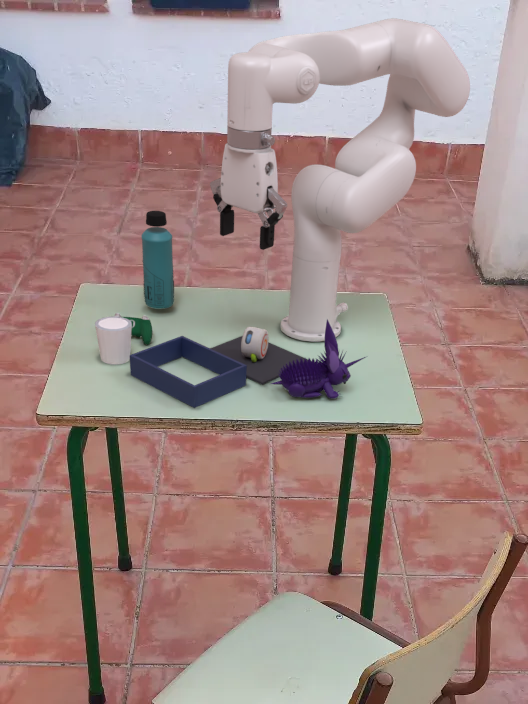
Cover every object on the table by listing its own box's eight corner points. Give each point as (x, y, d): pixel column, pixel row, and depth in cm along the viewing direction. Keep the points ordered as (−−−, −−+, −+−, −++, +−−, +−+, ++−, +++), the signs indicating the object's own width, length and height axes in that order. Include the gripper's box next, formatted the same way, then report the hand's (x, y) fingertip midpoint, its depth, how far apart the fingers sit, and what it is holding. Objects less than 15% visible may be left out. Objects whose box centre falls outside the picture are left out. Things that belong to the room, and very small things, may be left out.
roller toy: (237, 361, 172) (238, 332, 169) (248, 348, 177) (249, 320, 173) (259, 365, 171) (260, 336, 168) (269, 352, 176) (270, 324, 172)
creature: (368, 402, 163) (377, 338, 155) (270, 403, 161) (274, 338, 153) (359, 380, 170) (367, 318, 162) (265, 381, 168) (268, 318, 160)
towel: (248, 335, 183) (248, 333, 182) (311, 363, 174) (311, 360, 174) (198, 355, 175) (198, 352, 174) (262, 385, 166) (262, 382, 166)
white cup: (94, 352, 173) (91, 317, 169) (128, 348, 175) (126, 314, 171) (101, 367, 168) (99, 332, 164) (137, 363, 170) (135, 328, 166)
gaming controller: (152, 350, 179) (156, 321, 180) (149, 342, 175) (153, 313, 176) (107, 346, 180) (111, 317, 180) (103, 338, 176) (107, 309, 176)
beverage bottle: (180, 309, 191) (179, 211, 179) (162, 318, 187) (159, 219, 174) (156, 301, 194) (153, 205, 181) (137, 311, 190) (132, 212, 177)
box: (182, 355, 174) (182, 335, 172) (246, 385, 166) (246, 365, 163) (130, 375, 166) (129, 355, 164) (194, 408, 158) (194, 387, 155)
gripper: (302, 145, 150) (296, 248, 161) (226, 125, 158) (225, 224, 169) (273, 152, 146) (268, 258, 157) (197, 131, 154) (198, 233, 165)
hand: (246, 240), depth 163 cm, fingers open, 9 cm apart
